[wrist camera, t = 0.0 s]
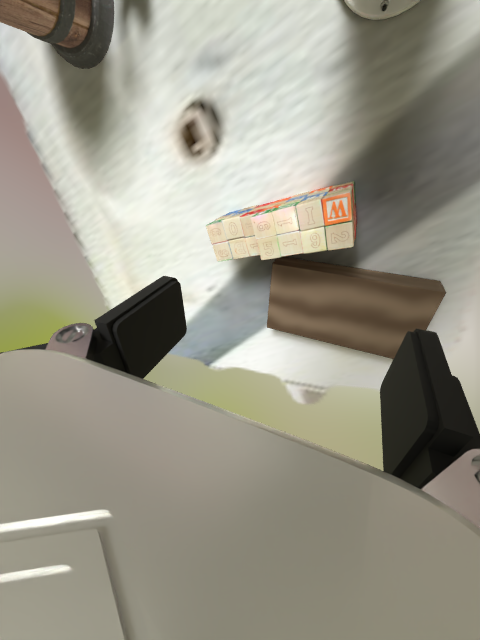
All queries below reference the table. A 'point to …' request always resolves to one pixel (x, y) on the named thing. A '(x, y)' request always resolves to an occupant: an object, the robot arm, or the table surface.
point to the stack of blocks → (288, 225)
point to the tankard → (65, 26)
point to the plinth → (350, 304)
